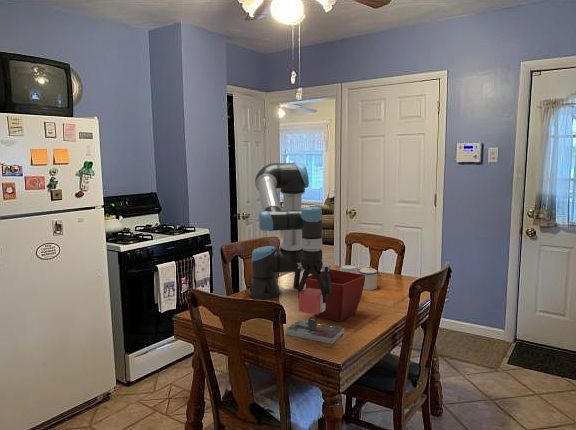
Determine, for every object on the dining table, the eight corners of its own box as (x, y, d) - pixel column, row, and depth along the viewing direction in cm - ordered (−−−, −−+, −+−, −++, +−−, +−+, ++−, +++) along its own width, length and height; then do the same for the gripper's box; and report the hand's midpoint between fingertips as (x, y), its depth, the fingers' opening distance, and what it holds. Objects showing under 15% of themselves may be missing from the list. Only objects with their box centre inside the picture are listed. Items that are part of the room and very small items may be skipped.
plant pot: (329, 304, 196) (329, 268, 194) (366, 313, 184) (366, 274, 182) (303, 316, 182) (303, 277, 180) (342, 326, 170) (342, 285, 168)
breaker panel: (286, 334, 163) (285, 327, 162) (299, 324, 172) (299, 318, 172) (332, 344, 154) (332, 337, 153) (343, 333, 163) (343, 326, 163)
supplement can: (356, 300, 201) (357, 269, 199) (339, 299, 202) (339, 268, 200) (357, 295, 208) (357, 265, 207) (340, 294, 210) (340, 264, 208)
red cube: (299, 311, 159) (298, 293, 159) (307, 305, 166) (307, 287, 165) (317, 314, 156) (317, 295, 155) (325, 308, 162) (325, 290, 162)
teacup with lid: (378, 286, 223) (378, 264, 222) (376, 291, 215) (376, 268, 213) (355, 284, 227) (355, 262, 226) (352, 289, 219) (352, 266, 217)
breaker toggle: (308, 329, 161) (308, 319, 161) (311, 327, 164) (311, 317, 163) (314, 330, 160) (314, 320, 160) (317, 328, 162) (316, 318, 162)
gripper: (282, 248, 160) (283, 308, 162) (333, 253, 150) (334, 316, 153) (292, 245, 166) (293, 302, 169) (341, 249, 157) (341, 310, 159)
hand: (312, 309), depth 161 cm, fingers closed on red cube, 7 cm apart
